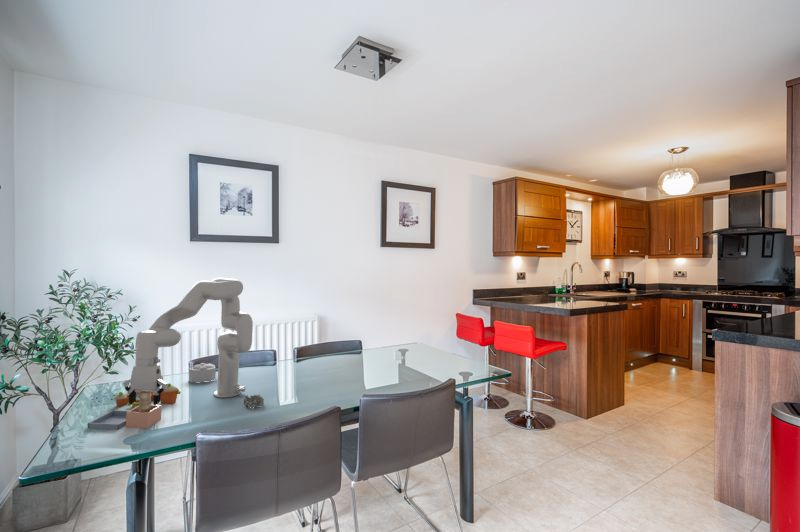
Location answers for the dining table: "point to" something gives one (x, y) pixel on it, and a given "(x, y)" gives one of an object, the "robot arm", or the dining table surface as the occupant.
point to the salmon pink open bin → (143, 417)
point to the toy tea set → (166, 397)
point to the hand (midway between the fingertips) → (144, 403)
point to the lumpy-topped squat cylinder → (202, 373)
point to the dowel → (144, 401)
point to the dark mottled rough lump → (254, 401)
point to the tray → (110, 420)
